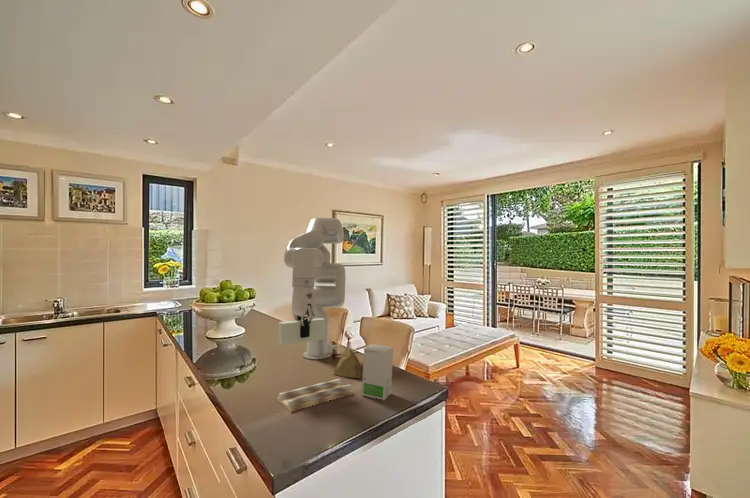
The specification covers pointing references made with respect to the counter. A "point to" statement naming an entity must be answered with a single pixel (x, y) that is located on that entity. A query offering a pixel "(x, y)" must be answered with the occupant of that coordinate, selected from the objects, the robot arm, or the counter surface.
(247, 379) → the counter surface
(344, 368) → the rock
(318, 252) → the robot arm
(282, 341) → the door panel
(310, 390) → the bottom track
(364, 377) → the skincare box
